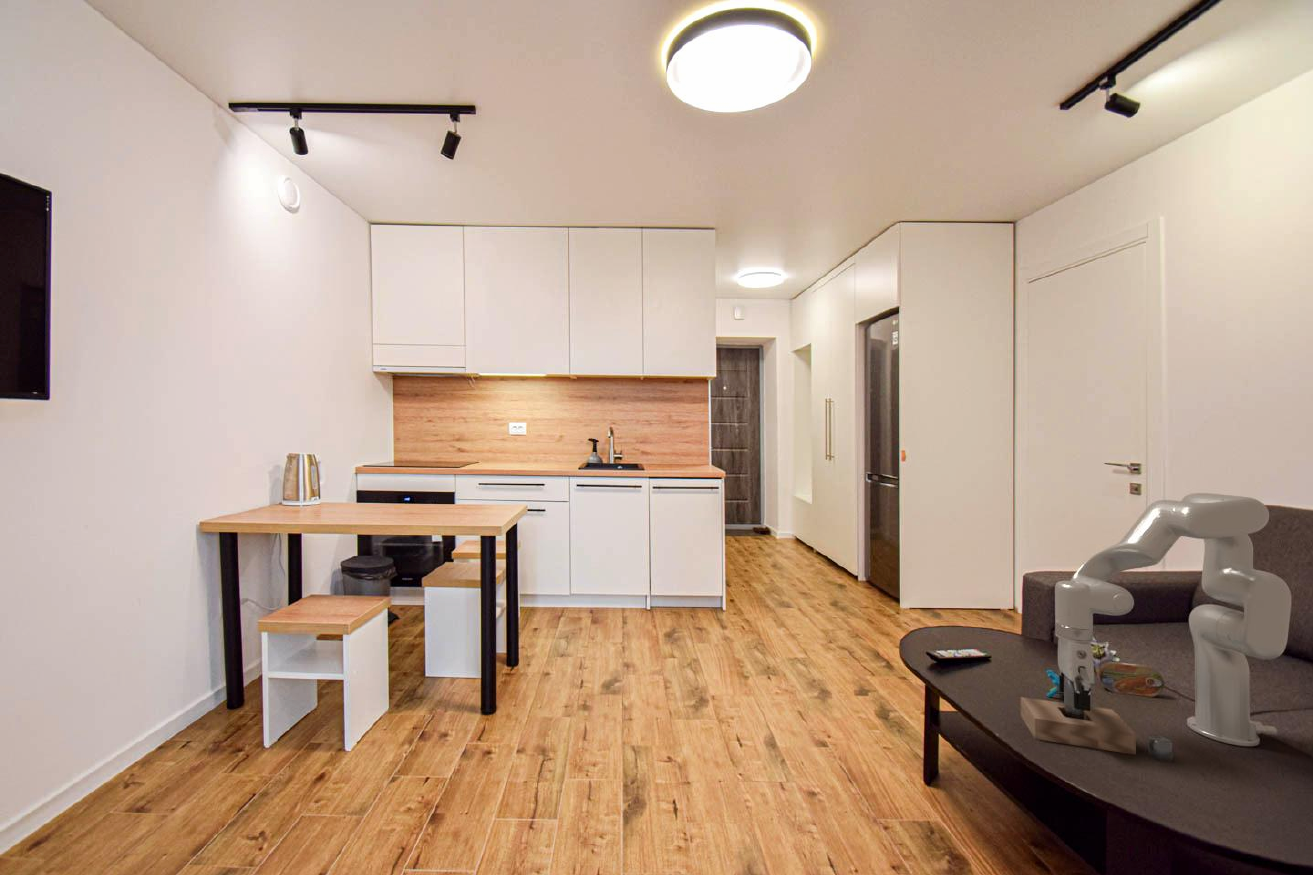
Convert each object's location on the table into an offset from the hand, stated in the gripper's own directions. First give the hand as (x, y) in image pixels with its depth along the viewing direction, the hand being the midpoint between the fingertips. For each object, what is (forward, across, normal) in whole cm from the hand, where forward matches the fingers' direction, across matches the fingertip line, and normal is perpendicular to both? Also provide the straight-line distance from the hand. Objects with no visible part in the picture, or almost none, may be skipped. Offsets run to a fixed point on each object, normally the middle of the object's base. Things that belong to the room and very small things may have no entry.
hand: (1074, 700), depth 136 cm
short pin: (+8, -5, -15) cm, 18 cm away
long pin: (+8, 0, 0) cm, 8 cm away
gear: (+9, +21, -4) cm, 23 cm away
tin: (+9, +33, -24) cm, 42 cm away
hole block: (+8, 0, 0) cm, 8 cm away
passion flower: (+9, +51, -22) cm, 56 cm away
